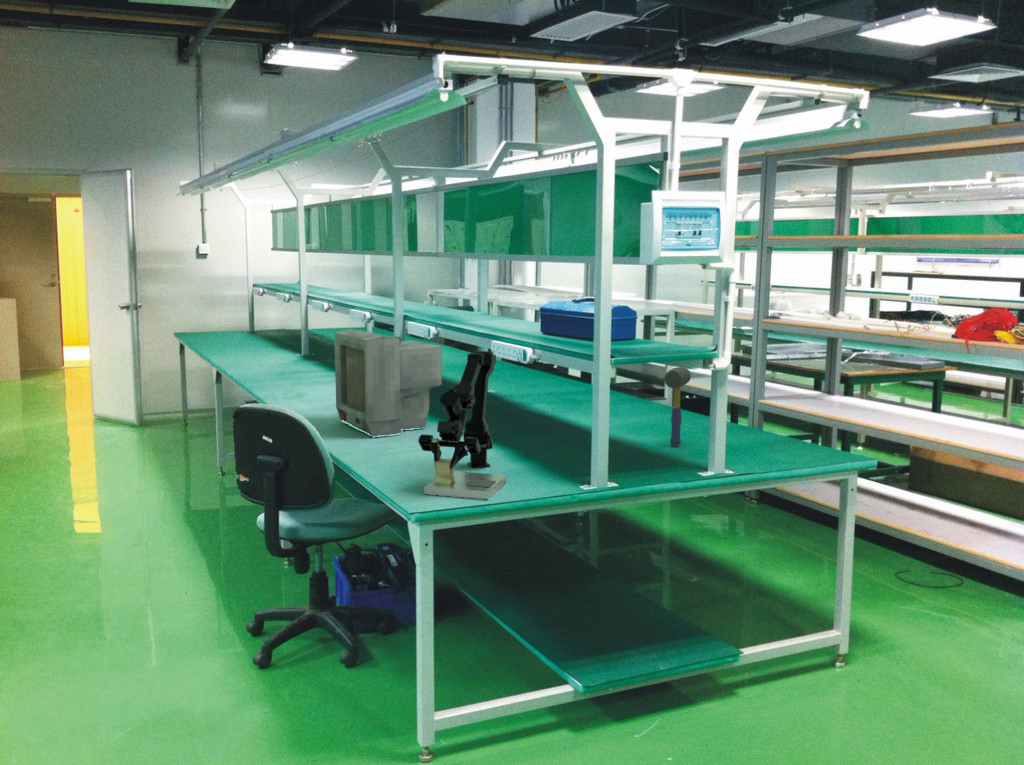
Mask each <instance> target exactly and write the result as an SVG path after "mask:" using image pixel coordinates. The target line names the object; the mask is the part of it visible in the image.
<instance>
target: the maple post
mask: <svg viewBox="0 0 1024 765" xmlns="http://www.w3.org/2000/svg"><path fill="white" fill-rule="evenodd" d="M451 460H452V458H451V459H450V458H440V459H439V460H437V461H436V462H435V463H434V468H435V469H434V470H435V472H434V473H435V474H434V477H435V478H434V479H435V485H445V486H451V485H452V484H453V483H454V471H455V466H454V467H453V468H452V469H450V463H451Z"/></svg>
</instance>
